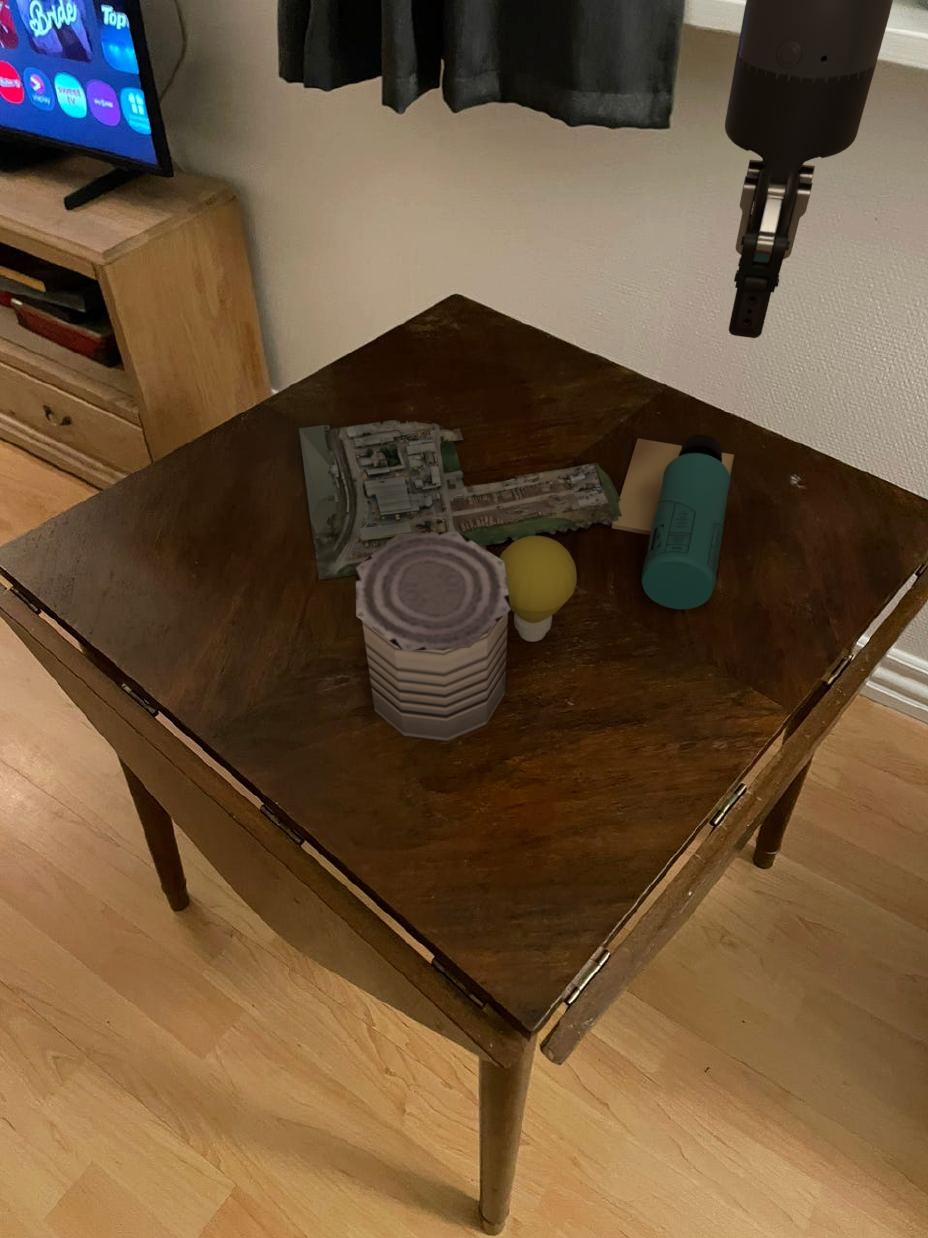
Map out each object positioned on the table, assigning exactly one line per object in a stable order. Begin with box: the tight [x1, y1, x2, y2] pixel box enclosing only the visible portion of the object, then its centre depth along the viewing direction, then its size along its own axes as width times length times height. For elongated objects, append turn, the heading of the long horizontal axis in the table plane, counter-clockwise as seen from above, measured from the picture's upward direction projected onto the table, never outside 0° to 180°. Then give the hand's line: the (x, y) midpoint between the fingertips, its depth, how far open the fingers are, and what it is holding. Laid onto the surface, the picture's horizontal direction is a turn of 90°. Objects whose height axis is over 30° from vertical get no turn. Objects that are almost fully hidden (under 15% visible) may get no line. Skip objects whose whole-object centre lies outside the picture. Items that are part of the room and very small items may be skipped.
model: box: [298, 419, 622, 581], centre depth 93 cm, size 21×30×2 cm
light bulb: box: [498, 535, 578, 642], centre depth 77 cm, size 7×7×10 cm
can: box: [355, 532, 512, 742], centre depth 72 cm, size 11×11×12 cm
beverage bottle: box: [639, 434, 731, 610], centre depth 85 cm, size 6×7×20 cm
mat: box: [611, 437, 735, 536], centre depth 93 cm, size 10×14×1 cm
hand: (744, 330), depth 64 cm, fingers closed
